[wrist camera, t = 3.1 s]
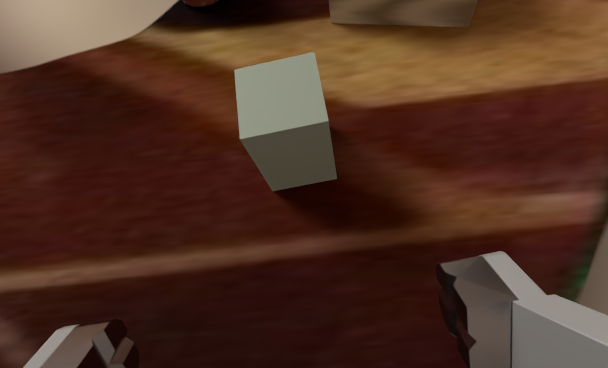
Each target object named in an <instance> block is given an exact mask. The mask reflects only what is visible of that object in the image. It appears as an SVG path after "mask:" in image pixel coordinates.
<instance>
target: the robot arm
mask: <svg viewBox="0 0 608 368" xmlns="http://www.w3.org/2000/svg"><path fill="white" fill-rule="evenodd" d="M436 274H437V279H438V281H439V283H440V284H441V286H442V288H441V289H440V291H439V292H438V296H439V304H440V308H441V312H442V316H443V318H444V321H445V324H446V326H447V328H448V330H449V332H450V333H451V334H453V335H454V336H456V337H457V347H458V350H459V352H460V354H461V356H462V358H463V360H464V362H465V364H466V366H467V368H608V316H607V315H605V314H602V313H600V312H597V311H595V310H592V309H590V308H587V307H584V306H582V305H580V304H577V303H575V302H572V301H569V300H567V299H564V298H562V297H559V296H557V295H548V296H547V295H546V294H545V293H544V292H543V291H542V290H541V289H540V288H539V287H538V286H537V285H536V284H535V283H534V282H533V281H532V280H531V279H530V278H529V277H528V276H527V275H526V274H525V273H524V272H523V270H522V269H521V268H520V267H519V266H518V265H517V264H516V263H515V262H514V261H513V260H512V259H511V258H510V257H509V256H508V255H507V254H506V253H504V252H502V251H499V252H494V253H489V254H484V255H479V256H478V257H472V258H466V259H461V260H455V261H449V262H444V263H438V264H437V266H436ZM127 331H128V330H127V328H126V326H125V325H124V323H123V321H122V320H118V319H111V320H105V321H98V322H91V323H84V324H80V325H73V326H66V327H63V328H60V329H58V330H56V331H55V332H54V333H53V335H52V336H51V337H50V338H49V339H48V340H47V341H46V342H45V344H44V345H43V346H42V347H41V348H40V349H39V350H38V351H37V353H36V354H35V355H34V356H33V357H32V358H31V359H30V360H29V362H28V363H27V364H26V365H25V366H24V367H23V368H138V366H139V360H140V359H139V353H138V349H137V347H136V345H135V343H134V342H132V341H130V340H129V339H127V338H126V334H127Z"/></svg>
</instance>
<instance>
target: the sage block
mask: <svg viewBox="0 0 608 368" xmlns="http://www.w3.org/2000/svg"><path fill="white" fill-rule="evenodd" d="M234 71H235V84H236V96H237V108H238V121H239V133H240V140H241V142H242V143H243V145H244V146H245V148H246V150H247V151H248V153H249V154H250V156H251V157H252V159H253V161H254V162H255V164H256V165H257V167H258V169H259V170H260V172H261V173H262V175H263V177H264V178H265V180H266V181H267V183H268V184H269V186H270V188H271V189H272V191H277V190H282V189H287V188H292V187H297V186H303V185H308V184H313V183H318V182H323V181H329V180H334V179H337V175H336V168H335V161H334V155H333V148H332V141H331V135H330V128H329V121H328V116H327V111H326V107H325V102H324V97H323V92H322V87H321V82H320V77H319V72H318V68H317V63H316V58H315V53H314V52H312V53H307V54H303V55H298V56H294V57H289V58H285V59H280V60H276V61H271V62H267V63H262V64H258V65H253V66H249V67H244V68H240V69H236V70H234Z"/></svg>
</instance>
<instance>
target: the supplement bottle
mask: <svg viewBox="0 0 608 368" xmlns="http://www.w3.org/2000/svg"><path fill="white" fill-rule="evenodd" d="M182 1H183V2H184V3H185V4H187V5H189V6H192V7H205V6H209V5H212V4H214V3H216V2H218V1H219V0H182Z"/></svg>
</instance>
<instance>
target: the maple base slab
mask: <svg viewBox="0 0 608 368" xmlns="http://www.w3.org/2000/svg"><path fill="white" fill-rule="evenodd" d="M478 1H479V0H329V6H330V17H331V23H345V24H376V25H407V26H438V27H469V26H470V23H471V20H472V17H473V15H474V12H475V9H476V6H477V4H478Z"/></svg>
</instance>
